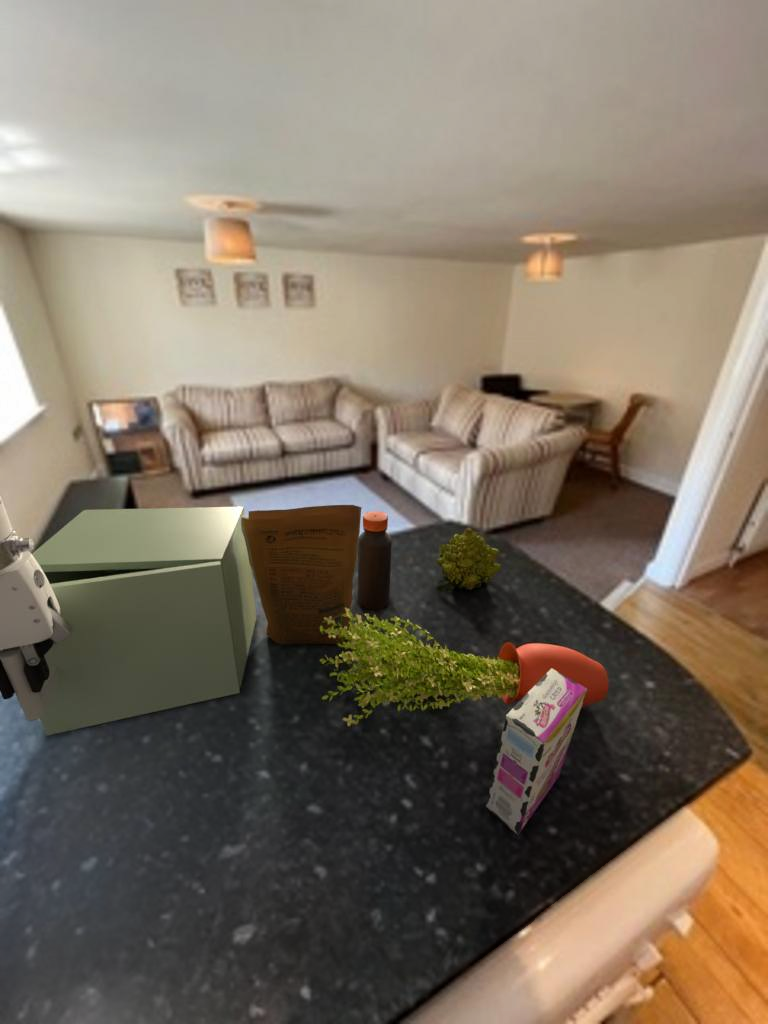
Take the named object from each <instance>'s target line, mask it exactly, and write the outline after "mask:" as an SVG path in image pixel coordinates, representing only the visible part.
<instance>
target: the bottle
mask: <svg viewBox="0 0 768 1024" xmlns="http://www.w3.org/2000/svg"><path fill="white" fill-rule="evenodd" d="M388 527H389V516H388V515H387V513H385V512H382V511H379V510H372V511H367V512H365V513H364V514H363V515H362V529H363V532H361V534H359V538H358V548H357V603H358V604H359V605H360V606H361V607H362V608H365V609H368V610H380V609H382V608H385V607H386V606H387V605H388V604H389V602H390V595H391V571H392V570H391V569H392V547H393V546H392V545H393V541H392V537H391V535H390V534H389V533H388V532H387V530H388Z"/></svg>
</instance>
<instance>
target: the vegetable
mask: <svg viewBox="0 0 768 1024" xmlns="http://www.w3.org/2000/svg"><path fill="white" fill-rule="evenodd" d="M499 552H500V549H497V548H495V547H491V546H490V544H486V540H485V538H484V535H478V532H476V531H474V530H473V529H472V528H471V527H466V528H465V530H464V532H463V533H462V534H458V533H455V534H454V535H453V536H452V537H451V538H450V540H449V542H448V543H444V544H440V545H439V558H436V559H435V561H436V563H437V564H438V566H439V567H441V570H442V574H443V575H442V578H443V584H438V585H437V586H436V592H442V591H444V590H445V589H447V590H448V591H452V590H454V589H455V588H456V589H460V590H462V589H464V588H465V590H466V591H472V590H473V589H477V588H480V587H481V586H482V584H483V583H484V584H487V582H488V581H489V580H491V579H492V578H493V577H494V576H496V574H497V573H498V571H499V570H500V568H501V566H502V564H501V563H497V562H495V561H496V559H497V557H498V554H499ZM475 587H477V588H475Z"/></svg>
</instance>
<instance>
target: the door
mask: <svg viewBox="0 0 768 1024" xmlns="http://www.w3.org/2000/svg"><path fill="white" fill-rule="evenodd" d="M50 585H51V587H52V590H53V592H54V594H55V596H56V598H57V601H58V604H59V606H60V610H61V615H60V616H61V617H62V618H63V619H64V620H65V621H66V622H68V623H69V624H70V625H71V626H72V627H73V630H72V633H71V636H70V637H69V638H67V639H65V640H63V641H61V642H60V643H58V644H55V645H53V646H52V647H51V649H50V650H49V651H48V652H47V653H46V654H45V655H44V657H45V660H46V662H47V665H48V668H49V671H50V674H49V678H48V680H45V682H44V684H43V687H42V689H41V692H37V693H34V692H32V690H31V687H30V685H29V683H28V680H27V678H26V675H25V673H24V667H25V664H26V661H25V657H24V655H23V653H22V651H21V648H20V646H18V647H13V648H8V649H2V651H1V652H0V660H1V662H2V664H3V666H4V669H5V671H6V673H7V676H8V678H9V680H10V683H11V685H12V687H13V690H14V695H15V697H16V699H17V701H18V704H19V705H20V708H21V711H22V712H23V715H24V717H25V719H26V720H27V721H29V722H32V721H36V720H38V719H39V720H40V722H41V725H42V727H43V730H44V732H45V735H46V736H52V735H56V734H60V733H65V732H69V731H75V730H80V729H83V728H88V727H92V726H96V725H101V724H105V723H111V722H115V721H120V720H123V719H129V718H133V717H137V716H142V715H147V714H151V713H155V712H160V711H165V710H169V709H174V708H177V707H178V708H179V707H182V706H183V707H184V706H187V705H191V704H196V703H200V702H201V703H202V702H206V701H210V700H214V699H218V698H223V697H228V696H232V695H237V694H240V692H241V691H240V688H239V682H238V675H237V669H236V662H235V655H234V648H233V641H232V634H231V628H230V621H229V614H228V607H227V600H226V593H225V587H224V580H223V573H222V566H221V561H217V562H209V563H202V564H195V565H187V566H180V567H172V568H165V569H158V570H150V571H143V572H135V573H128V574H121V575H113V576H106V577H98V578H91V579H83V580H76V581H69V582H61V583H54V584H50Z"/></svg>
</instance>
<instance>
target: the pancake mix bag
mask: <svg viewBox="0 0 768 1024" xmlns="http://www.w3.org/2000/svg"><path fill="white" fill-rule="evenodd" d="M361 518H362V507H361V506H358V505H355V504H332V505H331V504H329V505H328V504H327V505H315V506H313V505H312V506H304V507H296V508H287V509H268V510H249V511H248V516H245V517H241V527H242V533H243V535H244V538H245V543H246V547H247V552H248V557H249V563H250V566H251V572H252V576H253V579H254V582H255V585H256V589H257V592H258V595H259V601H260V603H261V608H262V610H263V613H264V616H265V618H266V621H267V622H266V623H267V626H266V636H267V637H268V638H270V639H271V640H272V641H273V642H274V643H276V644H279V645H283V646H288V645H289V646H293V645H338V644H342V642H343V641H344V642H346V641H347V639H345V637H344V635H343V637H340V638H339V635H337V636H336V638H333V637H331V638H329V637H328V635H329V634H328V633H325V632H324V631H322V632H321V631H320V626H321V625H322V627H323V629H325V630H327V629H328V628H330V627H332V626H333V624H332V623H331V622H330V623H331V624H329V625H327V624H328V623H327V622H328V621H326V622H323V621H325V619H324V617H326V618H328V619H329V616H331V617H332V619H331V620H333V618H334V621H335V623H336V624H337V626H334V629H337V628H340V626H339V625H338V622H339V623H340V624H341V626H342V628H343V629H344V627H345V626H347V630H349V626H350V624H349V623H348V622H349V621H350V619H351V618H349V617H344V616H342V615H343V614H346V610H345V607H346V608H347V609H348V608H349V611H350V612H351V607H352V601H353V589H354V588H353V587H354V586H353V585H354V576H355V571H356V568H357V561H358V538H359V536H360V535H361V534H360V533H361V520H362V519H361ZM350 622H351V623H352V620H351V621H350ZM330 630H331V628H330ZM330 630H329V632H330ZM338 630H339V629H338ZM350 631H351V629H350ZM321 633H324V634H321ZM340 633H341V632H340ZM349 636H350V635H349ZM341 638H342V639H341ZM337 643H338V644H337Z"/></svg>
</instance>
